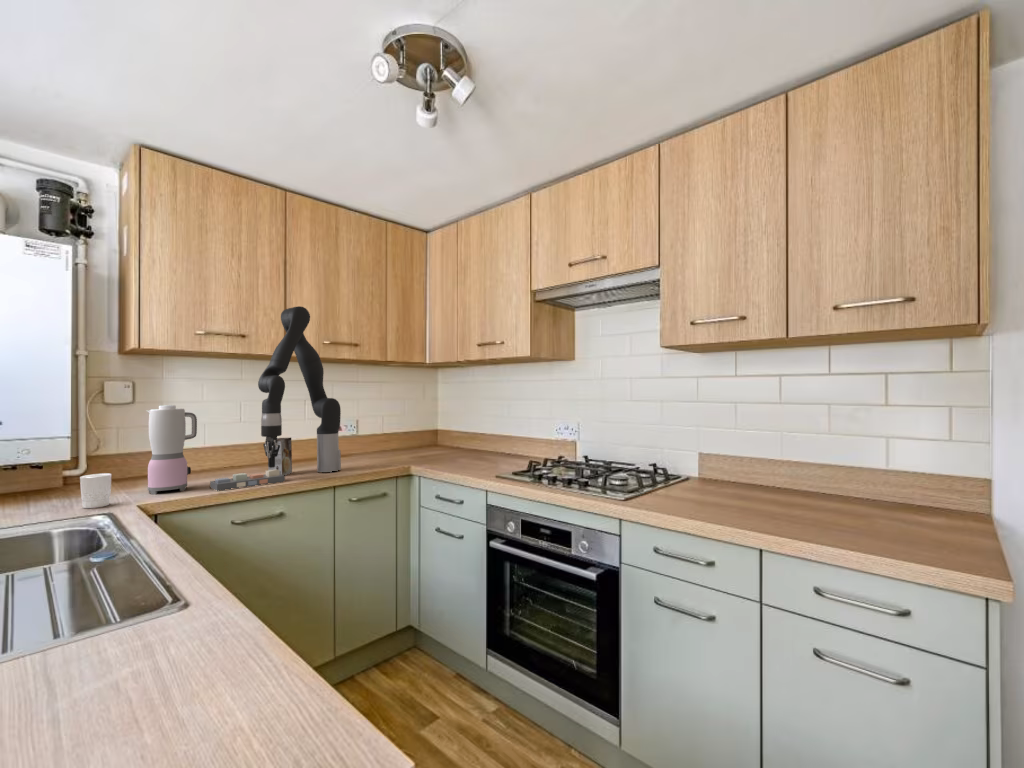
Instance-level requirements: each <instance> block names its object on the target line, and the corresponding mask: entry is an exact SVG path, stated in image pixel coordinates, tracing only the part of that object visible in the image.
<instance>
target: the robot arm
mask: <svg viewBox="0 0 1024 768" xmlns="http://www.w3.org/2000/svg"><path fill="white" fill-rule="evenodd" d="M280 321H281V324H282V327H283V329H284V331H285V335H284V336H283V338H282V339H281V341H280V342H279V343H278V344H277V346H276V347H275V348H274V351H273V353H272V354H271V358H270V360H269V364H268V365H267V366H266V368H265V369H264V370H263V372H262V373H261V375H260V377H258V381H257V382H258V383H257V387H258V389H259V391H260V392H262V393H265V394H268V396H267V398H265V399H263V400H262V401H261V402H262V403H261V419H260V425H261V426H260V431H261V433H260V436H261V437H263V438H265V441H264V443H263V448H264V454H265V456H266V457H267V467H270V468H271V467H275V458H276V457H277V455H278V452H279V448H280V445H278V441H277V438H278V437H281V436H282V433H283V429H282V427H283V426H282V422H283V421H282V419H283V418H282V401H283V397H284V393H285V388H286V383H285V380H284V378H283V377H282V376H280V375H282V374H285V372H286V371H287V370H288V367H289V364H290V362H291V359H292V357H293V354H295V356H296V361H297V363H298V366H299V368H300V369H299V370H300V372H301V374H302V376H303V379H304V383H305V386H306V388H307V391H308V395H309V399H310V403H311V407H312V410H313V414H314V415H315V416H317V417H318V418H319V419H321V423H320V425H319V426H317V428H316V458H317V459H316V465H317V466H316V468H317V469H316V470H317V473H318V472H330V473H333V472H332V471H337V472H339V471H338V470H341V471H342V467H341V466H342V462H341V461H342V459H341V457H342V456H341V455H342V454H341V453H342V452H341V449H339V448H340V446H339V444H340V443H339V430H340V428H341V414H342V413H341V412H342V410H341V404H340V402H339V401H338V400H337V399H336V398H333V397H328V396H327V393H326V391H325V388H324V387H325V386H324V365H323V363H322V360H321V358H320V354H319V353H318V352H317V350H316V349H315V348H314V346H312V344H311V343H310V342H309V341H308V339H307V337H305V334H304V332H305V331H306V330H307V327H308V326H309V323H310V321H311V313H310V312H309V310H308V309H307V307H304V306H293V307H288V308H286V309H283V310H282V312H281V314H280Z"/></svg>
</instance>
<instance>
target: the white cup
mask: <svg viewBox="0 0 1024 768" xmlns="http://www.w3.org/2000/svg"><path fill="white" fill-rule="evenodd" d="M79 483H80V496H81V504H82V506H81V507H82V508H83V509H95V508H102V507H105V506H109V505H110V503H111V502H110V500H111V493H112V491H111V490H112V473H108V472H107V473H93V474H86V475H82V476H79Z"/></svg>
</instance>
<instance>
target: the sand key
mask: <svg viewBox="0 0 1024 768" xmlns="http://www.w3.org/2000/svg"><path fill="white" fill-rule="evenodd" d="M265 474H266V476H268V477H270V476H278V475H279V470H277V469H274V470H268V469H267V470H266V469H265Z"/></svg>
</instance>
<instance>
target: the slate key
mask: <svg viewBox="0 0 1024 768" xmlns="http://www.w3.org/2000/svg"><path fill="white" fill-rule="evenodd" d="M230 479H231V478H230V477H222V478H221V477H220V478H219V477H218V478H215V480H214V481H215V482H216V483H223V482H230Z"/></svg>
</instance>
